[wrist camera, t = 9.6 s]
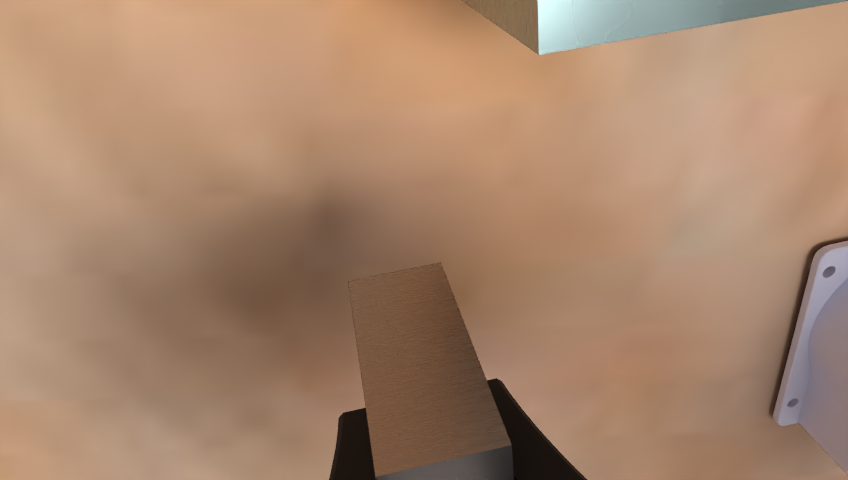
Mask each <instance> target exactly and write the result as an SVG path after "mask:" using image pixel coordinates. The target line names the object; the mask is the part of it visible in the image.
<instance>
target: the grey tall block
mask: <svg viewBox="0 0 848 480" xmlns="http://www.w3.org/2000/svg"><path fill="white" fill-rule="evenodd" d="M348 285H349V292H350V299H351V306H352V313H353V320H354V327H355V335H356V342H357V349H358V356H359V363H360V370H361V377H362V385H363V392H364V399H365V406H366V413H367V420H368V427H369V435H370V442H371V449H372V456H373V463H374V470H375V477H376V480H514V473H513V457H512V444H511V442H510V439H509V437H508V434H507V432H506V429H505V426H504V424H503V421H502V419H501V416H500V414H499V411H498V408H497V406H496V403H495V401H494V398H493V396H492V393H491V390H490V388H489V385H488V383H487V380H486V378H485V375H484V372H483V370H482V367H481V365H480V362H479V360H478V357H477V354H476V352H475V349H474V347H473V344H472V342H471V339H470V336H469V334H468V331H467V329H466V326H465V324H464V321H463V318H462V316H461V313H460V311H459V308H458V306H457V303H456V300H455V298H454V295H453V293H452V290H451V288H450V285H449V282H448V280H447V277H446V275H445V272H444V270H443V267H442V264H441V263H436V264H431V265H426V266H421V267H416V268H411V269H407V270H402V271H397V272H392V273H387V274H382V275H377V276H372V277H367V278H362V279H357V280H352V281H348Z"/></svg>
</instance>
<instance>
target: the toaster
mask: <svg viewBox="0 0 848 480" xmlns="http://www.w3.org/2000/svg"><path fill="white" fill-rule="evenodd" d="M462 1H463V2H465V3H466V4H468V5H469V6H470V7H472V8H473V9H475V10H476V11H478V12H479V13H480V14H482V15H483V16H485V17H486V18H487V19H489V20H490V21H492V22H493V23H494V24H496V25H497V26H499V27H500V28H502V29H503V30H504V31H506V32H507V33H509V34H510V35H511V36H513V37H514V38H516V39H517V40H518V41H520V42H521V43H523V44H524V45H525V46H527V47H528V48H530V49H531V50H533V51H534V52H535V53H537V54H538V55H542V54H547V53H553V52H559V51H564V50H570V49H576V48H581V47H587V46H593V45H599V44H604V43H610V42H616V41H621V40H627V39H633V38H639V37H644V36H650V35H656V34H661V33H667V32H673V31H679V30H684V29H690V28H696V27H701V26H707V25H713V24H718V23H724V22H730V21H736V20H741V19H747V18H753V17H758V16H764V15H770V14H776V13H781V12H787V11H793V10H798V9H804V8H810V7H815V6H821V5H827V4H833V3H838V2H844V1H848V0H462Z"/></svg>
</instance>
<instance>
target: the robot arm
mask: <svg viewBox="0 0 848 480" xmlns="http://www.w3.org/2000/svg"><path fill="white" fill-rule="evenodd" d="M487 383H488V385H489V388H490V390H491V393H492V396H493V398H494V401H495V403H496V406H497V408H498V411H499V414H500V416H501V419H502V421H503V424H504V426H505V429H506V432H507V434H508V437H509V439H510V442H511V444H512V457H513V473H514V480H587V479H586V478H585V477H584V476H583V475H582V474H581V473H580V472H579V471H578V470H577V469H576V468H575V467H574V466H573V465H572V464H571V463H570V462H569V461H568V460H567V459H566V458H565V457H564V456H563V455H562V454H561V453H560V452H559V451H558V450H557V449H556V447H555V446H554V445H553V444H552V443H551V442H550V441H549V440H548V439H547V438H546V437H545V436H544V434H543V433H542V432H541V431H540V430H539V429H538V428H537V426H536V425H535V424H534V423H533V422H532V420H531V419H530V418H529V417H528V416H527V415H526V413H525V412H524V411H523V410H522V408H521V407H520V406H519V405H518V403H517V402H516V401H515V399H514V398H513V397H512V395H511V394H510V393H509V391H508V390H507V388H506V387H505V386H504V384H503V383H502V381H500V380H498V379H492V380H488V381H487ZM773 419H774V420H775V421H776V422H777V424H778V425H780V426H788V425H792V424H796V423H799V424H800V425H801V426H802V427H803V428H804V429H805V430H806V432H807V433H808V434H809V435H810V436H811V437H812V438H813V439H814V440H815V441H816V442H817V443H818V444H819V445H820V446H821V448H822V449H823V450H824V451H825V452H826V453H827V454H828V455H829V456H830V457H831V458H832V459H833V460H834V461H835V463H836V464H837V465H838V466H839V467H840V468H841V469H842V470H843V471H844V472H845V473H846V474H847V475H848V241H844V242H840V243H835V244H830V245H827V246H824V247H822V248H821V249H819V250H818V251H817V252H816V253H815V255H814V258H813V261H812V265H811V269H810V273H809V277H808V281H807V285H806V289H805V293H804V297H803V300H802V304H801V308H800V312H799V316H798V320H797V324H796V328H795V332H794V336H793V339H792V343H791V347H790V351H789V355H788V359H787V363H786V367H785V371H784V375H783V379H782V382H781V386H780V390H779V394H778V398H777V402H776V406H775V410H774V414H773ZM329 480H376V477H375V470H374V463H373V456H372V449H371V442H370V435H369V427H368V420H367V413H366V408H363V409H358V410H354V411H349V412H345V413H343V414H342V415H341V416H340V417H339V422H338V434H337V442H336V449H335V454H334V460H333V465H332V469H331V474H330V478H329Z"/></svg>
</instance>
